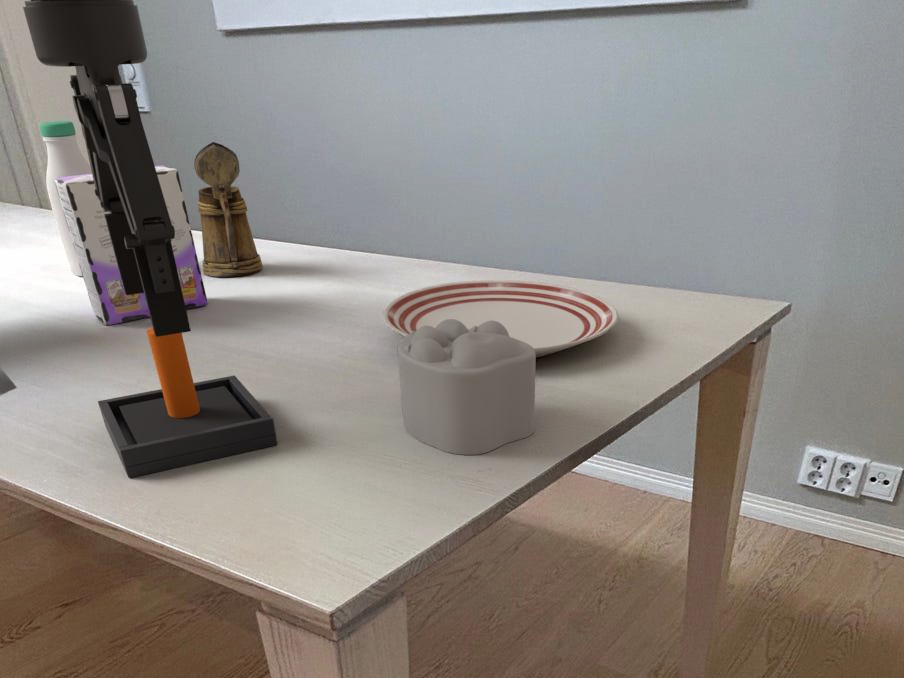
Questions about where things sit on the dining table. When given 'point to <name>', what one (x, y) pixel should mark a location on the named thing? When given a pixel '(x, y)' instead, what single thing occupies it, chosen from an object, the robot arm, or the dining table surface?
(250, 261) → the wooden mug
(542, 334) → the dinner plate
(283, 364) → the dining table surface
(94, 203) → the candy box
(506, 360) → the lumpy-topped squat cylinder
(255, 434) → the shallow rectangular tray
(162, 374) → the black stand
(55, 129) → the milk bottle
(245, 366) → the dining table surface
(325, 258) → the dining table surface
